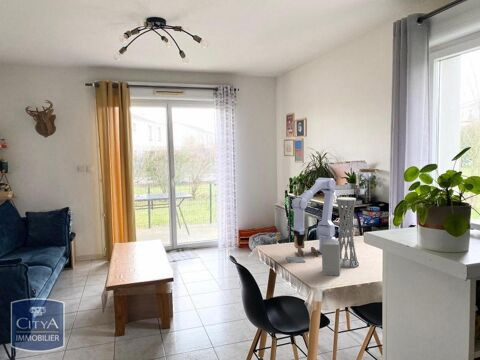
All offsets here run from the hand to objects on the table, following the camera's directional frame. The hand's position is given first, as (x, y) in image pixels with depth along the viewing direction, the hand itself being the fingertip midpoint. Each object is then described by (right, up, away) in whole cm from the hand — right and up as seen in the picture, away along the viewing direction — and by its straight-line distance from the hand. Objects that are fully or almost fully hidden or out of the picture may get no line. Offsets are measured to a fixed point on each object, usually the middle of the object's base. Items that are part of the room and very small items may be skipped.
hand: (299, 244), depth 194 cm
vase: (+23, -9, -8) cm, 26 cm away
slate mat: (-2, -9, 0) cm, 9 cm away
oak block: (0, -2, 0) cm, 2 cm away
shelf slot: (+7, -8, +10) cm, 15 cm away
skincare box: (+12, -10, -22) cm, 27 cm away
